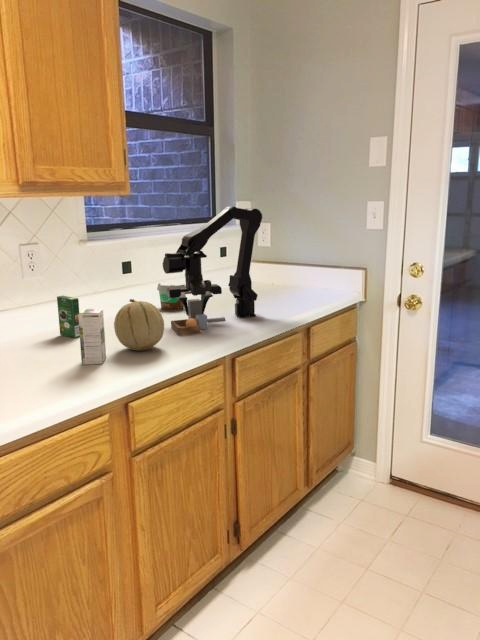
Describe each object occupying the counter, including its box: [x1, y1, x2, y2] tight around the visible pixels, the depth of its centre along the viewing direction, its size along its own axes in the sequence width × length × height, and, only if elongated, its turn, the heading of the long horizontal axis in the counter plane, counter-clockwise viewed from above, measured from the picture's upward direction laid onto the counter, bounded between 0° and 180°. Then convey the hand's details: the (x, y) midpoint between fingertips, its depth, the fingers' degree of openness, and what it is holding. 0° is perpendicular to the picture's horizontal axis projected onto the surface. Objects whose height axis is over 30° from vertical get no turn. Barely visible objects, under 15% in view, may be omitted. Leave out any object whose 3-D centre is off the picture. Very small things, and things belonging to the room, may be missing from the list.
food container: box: [156, 282, 186, 312], centre depth 213 cm, size 12×6×10 cm, turn 68°
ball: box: [186, 318, 198, 326], centre depth 180 cm, size 4×4×4 cm
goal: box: [170, 318, 202, 336], centre depth 180 cm, size 8×11×2 cm
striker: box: [187, 298, 208, 330], centre depth 185 cm, size 4×12×8 cm, turn 19°
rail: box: [207, 316, 226, 323], centre depth 191 cm, size 15×1×1 cm, turn 109°
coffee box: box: [56, 295, 80, 339], centre depth 174 cm, size 8×3×13 cm, turn 54°
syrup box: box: [78, 307, 107, 366], centre depth 146 cm, size 6×6×14 cm
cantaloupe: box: [113, 298, 165, 352], centre depth 157 cm, size 15×15×15 cm
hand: (195, 314), depth 189 cm, fingers open, 5 cm apart
